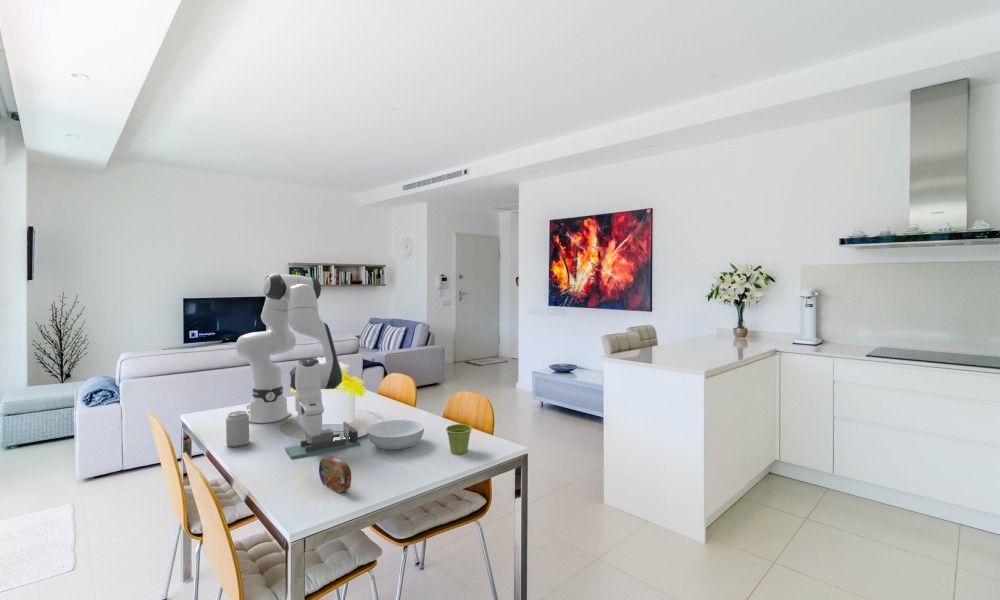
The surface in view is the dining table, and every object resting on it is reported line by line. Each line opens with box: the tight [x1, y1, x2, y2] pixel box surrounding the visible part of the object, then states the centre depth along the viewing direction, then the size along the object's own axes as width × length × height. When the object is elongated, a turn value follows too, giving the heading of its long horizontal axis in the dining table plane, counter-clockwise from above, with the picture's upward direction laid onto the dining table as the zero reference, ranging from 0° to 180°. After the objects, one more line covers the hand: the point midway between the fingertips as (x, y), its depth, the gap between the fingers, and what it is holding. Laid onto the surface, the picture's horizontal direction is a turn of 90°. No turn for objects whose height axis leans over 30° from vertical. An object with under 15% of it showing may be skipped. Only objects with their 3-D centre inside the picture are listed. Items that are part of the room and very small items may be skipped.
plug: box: [310, 428, 335, 445], centre depth 170 cm, size 4×7×5 cm, turn 126°
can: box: [225, 410, 250, 448], centre depth 173 cm, size 8×8×12 cm
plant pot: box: [445, 423, 473, 455], centre depth 167 cm, size 9×9×9 cm
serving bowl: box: [366, 419, 425, 451], centre depth 173 cm, size 21×21×7 cm
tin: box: [318, 455, 352, 494], centre depth 138 cm, size 15×3×8 cm, turn 48°
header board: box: [284, 421, 361, 460], centre depth 170 cm, size 10×24×8 cm, turn 126°
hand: (309, 442), depth 167 cm, fingers closed
